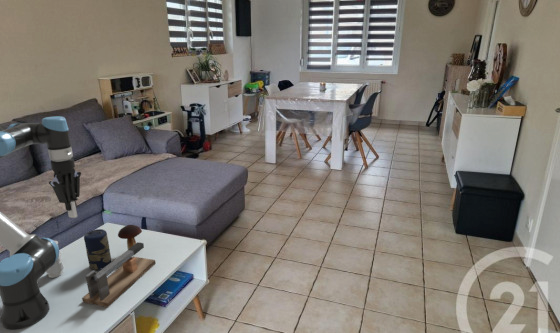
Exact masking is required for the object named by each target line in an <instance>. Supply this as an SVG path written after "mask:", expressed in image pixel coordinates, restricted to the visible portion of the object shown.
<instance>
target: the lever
mask: <svg viewBox="0 0 560 333" xmlns="http://www.w3.org/2000/svg"><path fill="white" fill-rule="evenodd" d="M144 247H145V244H144V243H143V242H137V241H136V244H135V245H133V246H132V247H131V248H129V249H128V248H127V249H126V251H124V252H123V253H122V254H121V255H119V256H118V257H116V258H115V259H114V260H111V263H110V264H108V265H107V266H106V267H104V268H103V269H99V271H97V272H96V274H95V275H93V276H92V277H91V280H92V281H97V280H96V278H97V277H98V276H99V275H101V274H102V273H103V272H105V273H106V275H107V277H108V276H110V275H111V274H112V273H113V272H115V271H116V270H117V269H118V268H120V267H121V266H122V264H123V263H124V262H126V261H127V260H128V259H129V258H131V257H134V256H135V255H136V254H137V253H139V252H140V251H141V250H143V249H144Z"/></svg>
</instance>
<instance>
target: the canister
mask: <svg viewBox="0 0 560 333" xmlns="http://www.w3.org/2000/svg"><path fill="white" fill-rule="evenodd" d="M83 240H84V244H85V246H84V247H85V250H86V256H87V260H88V265H89V267H90V269H91V270H94V271H96V270H97V271H98V270H99V271H100V270H102V269H103V268H104V267H106V266H107V265H108V264H110V263H111V262H112V256H111V251H110V250H111V249H110V244H109V237H108V233H107V231H106V230H105V229H101V228H100V229H98V228H97V229H93V230H90V231H87V232H86V233H85V234H84V236H83Z"/></svg>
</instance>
